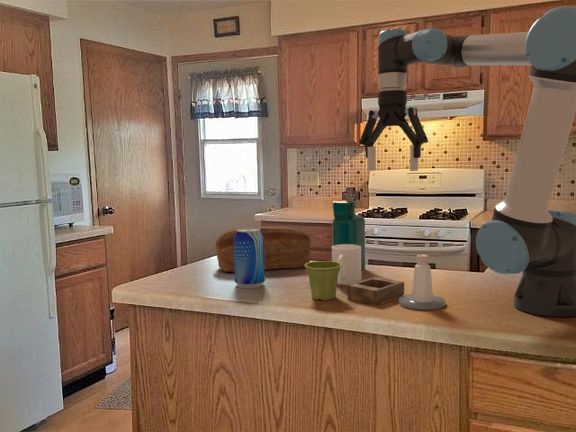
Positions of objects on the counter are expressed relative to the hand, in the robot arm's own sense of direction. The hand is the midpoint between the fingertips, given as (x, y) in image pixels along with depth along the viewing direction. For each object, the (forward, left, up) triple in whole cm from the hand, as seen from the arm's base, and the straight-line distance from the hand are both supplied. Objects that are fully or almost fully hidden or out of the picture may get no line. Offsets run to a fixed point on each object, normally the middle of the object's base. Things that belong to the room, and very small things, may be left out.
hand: (392, 170), depth 149 cm
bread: (+44, +7, -32) cm, 55 cm away
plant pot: (+6, +22, -32) cm, 39 cm away
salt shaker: (-16, +11, -31) cm, 37 cm away
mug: (+11, +7, -32) cm, 35 cm away
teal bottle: (+21, -7, -32) cm, 39 cm away
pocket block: (-4, +13, -32) cm, 34 cm away
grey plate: (-16, +11, -32) cm, 37 cm away
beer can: (+30, +26, -32) cm, 51 cm away
